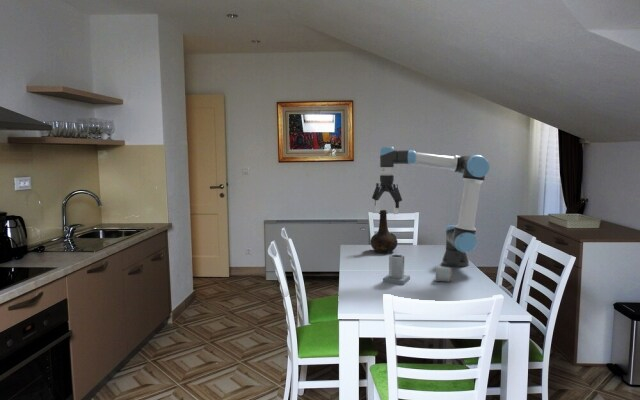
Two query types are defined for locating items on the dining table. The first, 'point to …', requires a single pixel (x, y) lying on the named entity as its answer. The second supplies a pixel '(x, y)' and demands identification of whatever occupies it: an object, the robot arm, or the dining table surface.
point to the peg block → (396, 280)
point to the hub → (396, 266)
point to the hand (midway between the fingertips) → (386, 212)
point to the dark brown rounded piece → (383, 236)
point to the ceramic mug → (443, 274)
